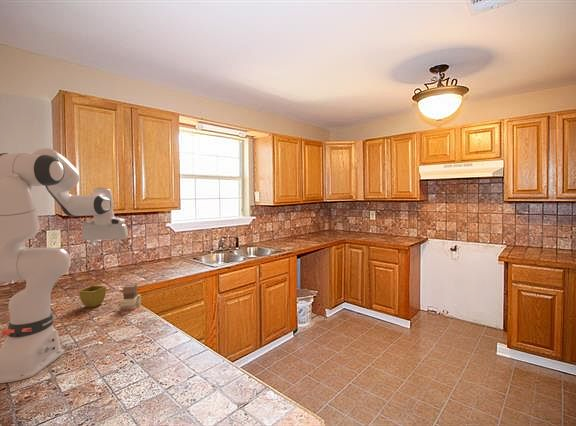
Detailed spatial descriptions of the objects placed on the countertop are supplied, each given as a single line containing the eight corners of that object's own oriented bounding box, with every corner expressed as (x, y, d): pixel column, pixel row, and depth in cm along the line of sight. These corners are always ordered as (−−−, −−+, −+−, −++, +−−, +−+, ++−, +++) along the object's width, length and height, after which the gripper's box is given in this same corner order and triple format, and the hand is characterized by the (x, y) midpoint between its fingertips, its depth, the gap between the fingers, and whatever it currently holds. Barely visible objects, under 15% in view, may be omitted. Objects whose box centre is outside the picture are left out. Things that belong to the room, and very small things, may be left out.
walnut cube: (134, 298, 153) (133, 286, 152) (123, 299, 152) (123, 287, 152) (137, 295, 158) (136, 283, 157) (126, 295, 157) (126, 284, 156)
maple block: (134, 309, 152) (134, 299, 152) (120, 309, 152) (120, 299, 151) (141, 303, 159) (140, 294, 159) (127, 304, 159) (126, 294, 158)
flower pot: (93, 309, 152) (92, 291, 152) (79, 308, 154) (77, 290, 153) (107, 302, 161) (106, 286, 160) (93, 301, 162) (92, 285, 162)
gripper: (78, 222, 147) (80, 250, 148) (124, 220, 151) (125, 248, 152) (84, 220, 153) (85, 248, 154) (128, 219, 157) (129, 246, 158)
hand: (106, 248), depth 153 cm, fingers open, 8 cm apart
